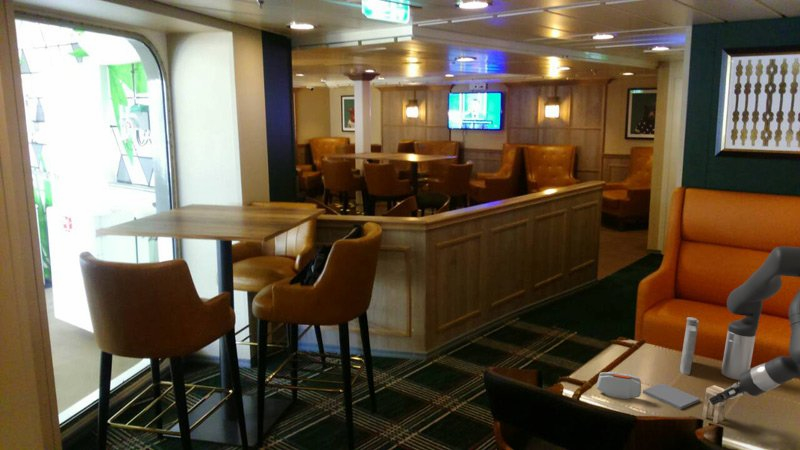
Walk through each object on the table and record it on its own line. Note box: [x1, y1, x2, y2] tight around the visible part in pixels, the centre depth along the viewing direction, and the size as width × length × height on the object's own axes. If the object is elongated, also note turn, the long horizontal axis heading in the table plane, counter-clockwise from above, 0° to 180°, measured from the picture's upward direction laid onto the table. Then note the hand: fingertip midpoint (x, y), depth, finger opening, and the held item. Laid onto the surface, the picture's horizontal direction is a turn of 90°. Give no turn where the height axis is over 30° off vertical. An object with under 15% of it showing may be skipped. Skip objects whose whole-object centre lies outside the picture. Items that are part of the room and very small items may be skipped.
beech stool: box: [701, 384, 729, 424], centre depth 201 cm, size 5×5×10 cm
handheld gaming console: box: [596, 371, 642, 400], centre depth 214 cm, size 14×3×8 cm, turn 74°
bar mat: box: [642, 382, 701, 410], centre depth 216 cm, size 12×14×1 cm
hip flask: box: [679, 316, 699, 376], centre depth 241 cm, size 16×4×20 cm, turn 152°
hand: (718, 398), depth 200 cm, fingers open, 8 cm apart
